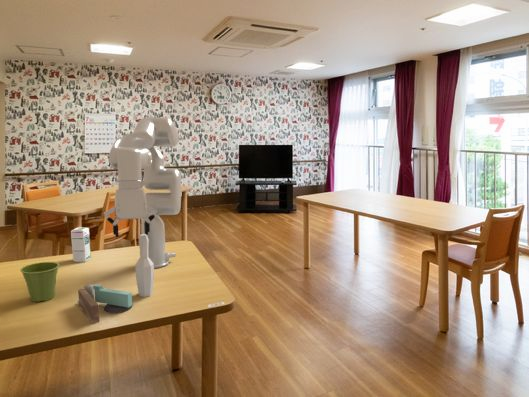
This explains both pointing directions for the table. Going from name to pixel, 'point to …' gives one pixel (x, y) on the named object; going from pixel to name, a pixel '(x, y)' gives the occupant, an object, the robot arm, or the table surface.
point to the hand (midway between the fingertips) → (131, 235)
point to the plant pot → (40, 280)
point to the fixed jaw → (88, 303)
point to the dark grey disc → (115, 308)
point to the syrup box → (81, 244)
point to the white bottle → (144, 269)
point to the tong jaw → (112, 296)
